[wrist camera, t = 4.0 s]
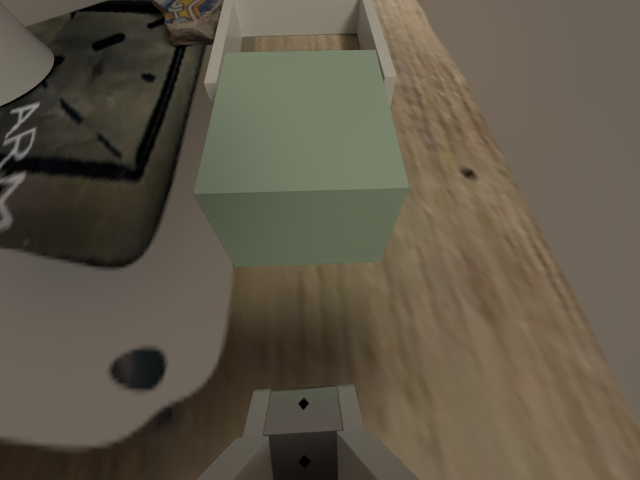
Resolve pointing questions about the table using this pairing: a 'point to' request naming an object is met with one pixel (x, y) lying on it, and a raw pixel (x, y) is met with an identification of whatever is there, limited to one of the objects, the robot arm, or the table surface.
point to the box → (297, 29)
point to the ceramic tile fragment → (190, 20)
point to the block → (301, 159)
